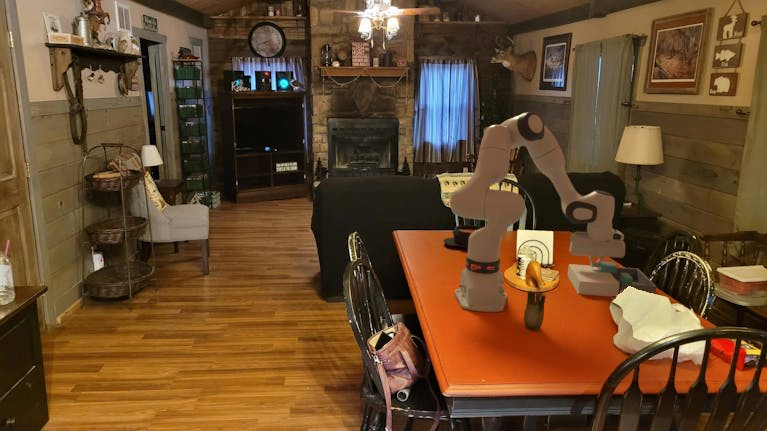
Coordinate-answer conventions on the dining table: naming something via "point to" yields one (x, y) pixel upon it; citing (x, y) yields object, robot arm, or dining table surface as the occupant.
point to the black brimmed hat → (461, 235)
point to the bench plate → (592, 281)
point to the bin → (635, 280)
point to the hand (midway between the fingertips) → (594, 266)
